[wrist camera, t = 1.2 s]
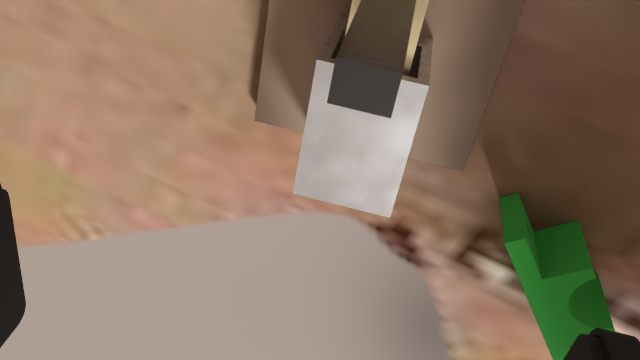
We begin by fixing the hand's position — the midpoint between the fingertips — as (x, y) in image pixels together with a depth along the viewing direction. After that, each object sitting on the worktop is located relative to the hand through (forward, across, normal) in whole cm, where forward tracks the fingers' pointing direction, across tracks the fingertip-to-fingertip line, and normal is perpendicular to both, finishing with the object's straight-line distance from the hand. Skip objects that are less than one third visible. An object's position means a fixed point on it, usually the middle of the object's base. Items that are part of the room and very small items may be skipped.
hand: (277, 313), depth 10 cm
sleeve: (+23, 0, +6) cm, 23 cm away
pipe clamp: (+24, -14, +15) cm, 32 cm away
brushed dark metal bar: (+21, 0, +3) cm, 21 cm away
